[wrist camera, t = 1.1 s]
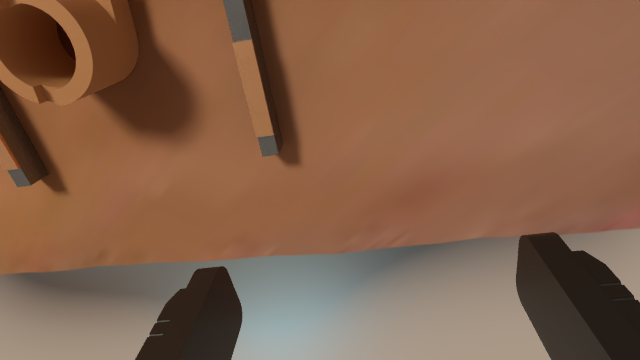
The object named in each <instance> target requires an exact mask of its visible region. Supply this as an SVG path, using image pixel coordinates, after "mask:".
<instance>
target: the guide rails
mask: <svg viewBox="0 0 640 360" xmlns="http://www.w3.org/2000/svg"><path fill="white" fill-rule="evenodd" d="M223 2H224V6H225V10H226V14H227V18H228V22H229V26H230V30H231V34H232V38H233V43H232V45H233V49H234V53H235V57H236V60H237V64H238V68H239V72H240V76H241V80H242V84H243V88H244V92H245V96H246V100H247V103H248V107H249V111H250V115H251V119H252V123H253V127H254V131H255V135H256V137H258V140H259V144H260V148H261V152H262V156H270V155H278V154H279V152H280V149H281V147H282V144H283V143H282V139H281V134H280V130H279V125H278V121H277V117H276V112H275V108H274V103H273V99H272V94H271V90H270V85H269V81H268V76H267V72H266V67H265V63H264V58H263V54H262V49H261V45H260V40H259V36H258V31H257V27H256V22H255V18H254V13H253V9H252V4H251V0H223ZM0 165H1V167H2V169H3V170H4V171H6V170H8V172H9V174H10V175H11V177H12V179H13V180H14V182H15V184H16V185H17V187H22V186H30V185H32V184H34V183H35V182H37V181H39V180H40V179H42V178H43V177H45V176H46V175H48V172H47V170H46V169H45V167H44V165H43V163H42V161H41V160H40V158H39V156H38V154H37V152H36V151H35V149H34V147H33V145H32V143H31V142H30V140H29V138H28V136H27V135H26V133H25V131H24V129H23V127H22V126H21V124H20V122H19V120H18V118H17V117H16V115H15V113H14V111H13V109H12V108H11V106H10V104H9V102H8V100H7V99H6V97H5V95H4V93H3V92H2V90H1V88H0Z"/></svg>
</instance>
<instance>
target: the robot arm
mask: <svg viewBox="0 0 640 360" xmlns="http://www.w3.org/2000/svg"><path fill="white" fill-rule="evenodd" d="M516 286H517V291H518V295H519V298H520V301H521V303H522V306H523V307H524V309H525V311H526V313H527V315H528V317H529V319H530V320H531V322H532V324H533V326H534V328H535V330H536V332H537V334H538V336H539V337H540V339H541V341H542V343H543V345H544V347H545V349H546V351H547V352H548V354H549V356H550V358H551V360H640V302H639V301H638V300H635V299H634V296H633V295H632V294H631V292H630V291H629V290H628V289H627V288H626V287H625V286H624V285H621V282H620V280H619V279H618V278H617V277H616V276H615V274H613V272H612V271H611V270H610V269H609V268H608V267H607V266H606V264H604V263H603V262H601V261H599V260H598V259H596V258H594V257H593V256H591V255H589V254H588V253H586V252H585V251H571V250H570V249H569V247H568V246H567V245H566V244H565V242H564V241H563V240H562V239H561V237H560V236H559V235H558V234H556V233H554V232H550V233H541V234H532V235H523V236H521V237H520V240H519V248H518V262H517V274H516ZM241 324H242V307H241V303H240V301H239V298H238V296H237V293H236V291H235V288H234V286H233V284H232V281H231V278H230V276H229V273H228V271H227V269H226V268H225V267H223V266H221V267H212V268H202V269H198V270H196V271H195V272H194V274H193V276H192V278H191V280H190V282H189V284H188V286H187V288H185V289H180V290H179V291H178V292H177V293H176V294H175V295H174V296H173V297H172V298H171V299H170V300H169V301H168V302H167V303H166V305H165V306H164V308H163V310H162V312H161V314H160V315H159V317H158V319H157V323H155V325H154V326H153V328H152V330H151V332H150V336H149V337H148V338H147V339H146V341H145V343H144V345H143V346H142V348H141V350H140V352H139V354H138V355H137V358H136V359H135V360H231V358H232V354H233V351H234V348H235V344H236V341H237V338H238V334H239V331H240V328H241Z"/></svg>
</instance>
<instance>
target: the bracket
mask: <svg viewBox="0 0 640 360" xmlns="http://www.w3.org/2000/svg"><path fill="white" fill-rule="evenodd" d="M57 22H58V23H59V24H60V25H61V26H62V28H63V29H64V30H65V32H66V33H67V35H68V37H69V38H70V40H71V43H72V45H73V48H74V51H75V56H76V61H75V60H73V59H72V58H71V57H70V55H69V54H68V53H67V52H66V50H65V49H64V47H63V46H62V44H61V41H60V39H59V36H58V32H57ZM138 51H139V46H138V38H137V34H136V30H135V26H134V22H133V18H132V14H131V11H130V7H129V3H128V0H0V80H1V81H2V82H3V83H4V84H5V85H6V86H7V87H9V88H10V89H11V90H13V91H14V92H15V93H17V94H19V95H20V96H22V97H24V98H26V99H28V100H30V101H33V102H36V103H39V104H40V103H43V102H45V101H51V102H56V104H57V105H66V104H69V103H72V102H74V101H76V100H79V99H81V98H83V97H85V96H88V95H90V94H92V93H95V92H97V91H99V90H102V89H104V88H106V87H108V86H111V85H113V84H115V83H118V82H120V81H122V80H123V79H125V78H126V77H127V76H128V75H129V74H130V73H131V72H132V71H133V69H134V67H135V65H136V62H137V59H138Z"/></svg>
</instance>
